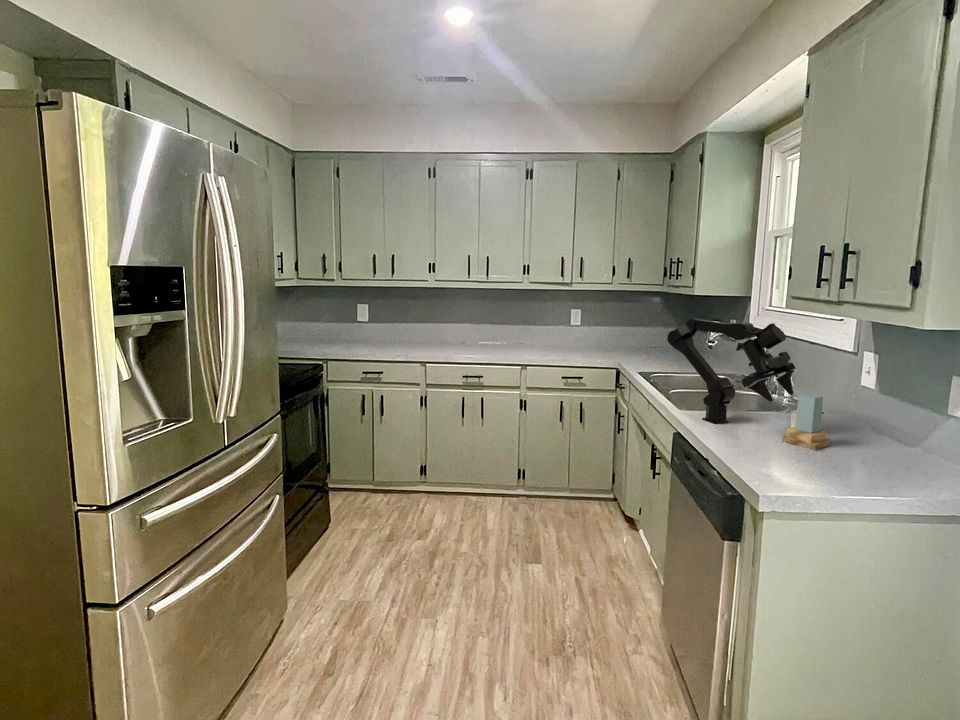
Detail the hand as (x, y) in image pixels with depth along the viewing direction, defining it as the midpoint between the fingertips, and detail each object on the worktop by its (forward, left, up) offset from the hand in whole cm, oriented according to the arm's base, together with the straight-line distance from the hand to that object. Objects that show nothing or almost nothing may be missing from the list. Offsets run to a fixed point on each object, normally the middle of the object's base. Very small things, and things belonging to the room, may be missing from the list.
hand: (781, 398), depth 185 cm
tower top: (+8, +3, -11) cm, 14 cm away
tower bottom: (+8, +3, -14) cm, 16 cm away
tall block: (+8, +3, -9) cm, 12 cm away
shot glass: (-2, +13, -13) cm, 19 cm away
